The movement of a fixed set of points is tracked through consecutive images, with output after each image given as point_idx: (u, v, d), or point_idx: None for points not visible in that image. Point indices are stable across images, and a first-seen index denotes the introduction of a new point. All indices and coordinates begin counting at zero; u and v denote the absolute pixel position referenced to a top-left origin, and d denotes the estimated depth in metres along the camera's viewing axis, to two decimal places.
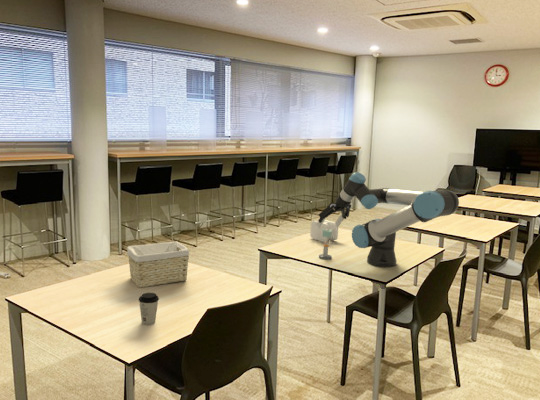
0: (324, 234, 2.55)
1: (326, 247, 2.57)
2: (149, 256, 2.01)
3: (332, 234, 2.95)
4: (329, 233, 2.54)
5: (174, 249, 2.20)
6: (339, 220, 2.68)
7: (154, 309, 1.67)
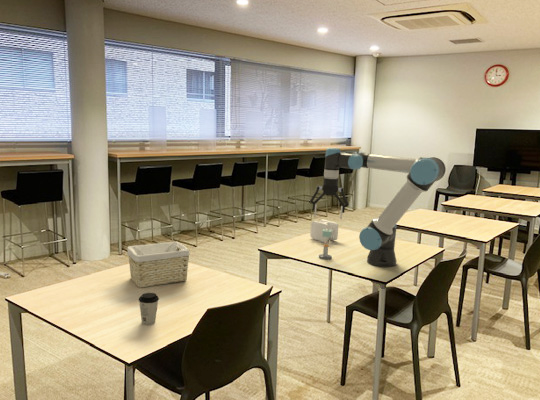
0: (324, 234, 2.55)
1: (326, 247, 2.57)
2: (149, 256, 2.00)
3: (332, 234, 2.95)
4: (329, 233, 2.54)
5: (174, 249, 2.20)
6: None
7: (154, 309, 1.67)
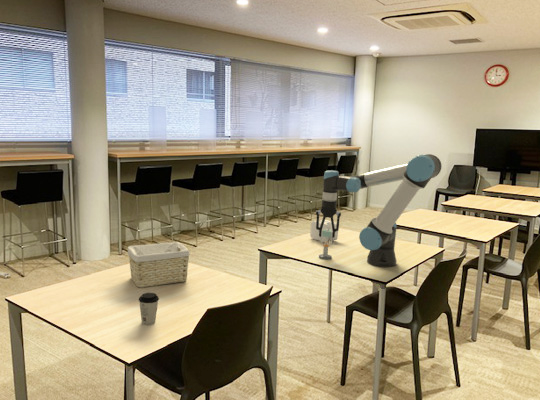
0: (324, 234, 2.55)
1: (326, 247, 2.57)
2: (149, 256, 2.00)
3: None
4: (329, 233, 2.54)
5: (175, 249, 2.19)
6: None
7: (154, 309, 1.67)
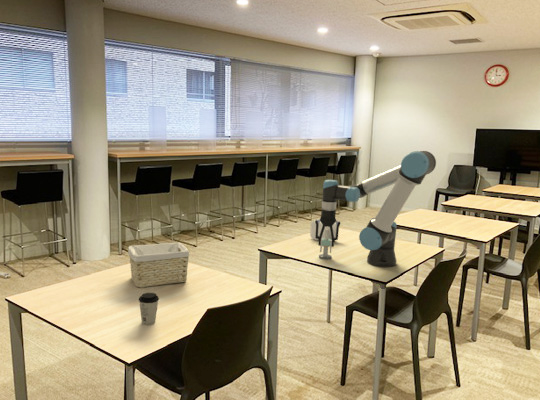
0: (323, 243, 2.55)
1: (326, 247, 2.57)
2: (148, 256, 2.00)
3: None
4: (328, 242, 2.55)
5: (176, 250, 2.19)
6: (330, 245, 2.57)
7: (154, 309, 1.67)
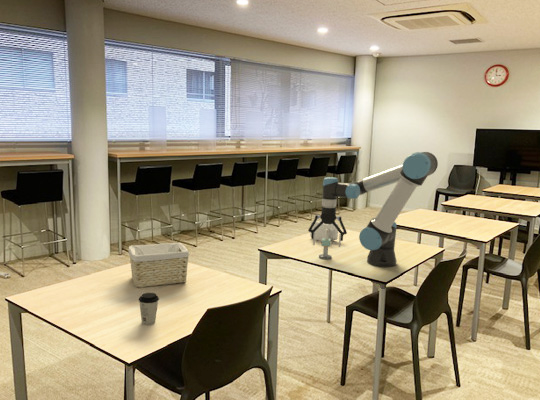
0: (323, 243, 2.55)
1: (326, 247, 2.57)
2: (147, 256, 2.00)
3: (332, 234, 2.95)
4: (328, 242, 2.55)
5: (176, 250, 2.18)
6: (339, 239, 2.56)
7: (154, 309, 1.67)
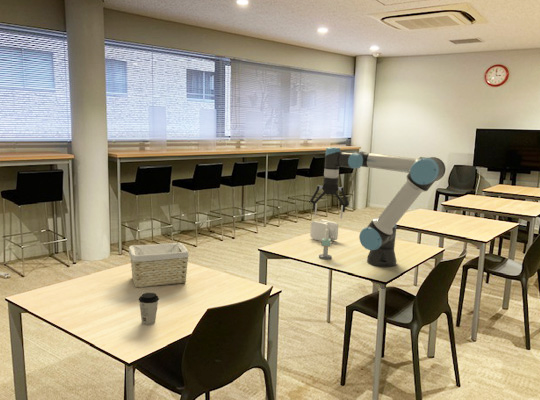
0: (323, 243, 2.55)
1: (326, 247, 2.57)
2: (146, 256, 2.00)
3: (332, 234, 2.95)
4: (328, 242, 2.55)
5: (177, 250, 2.18)
6: (341, 210, 2.53)
7: (154, 309, 1.67)
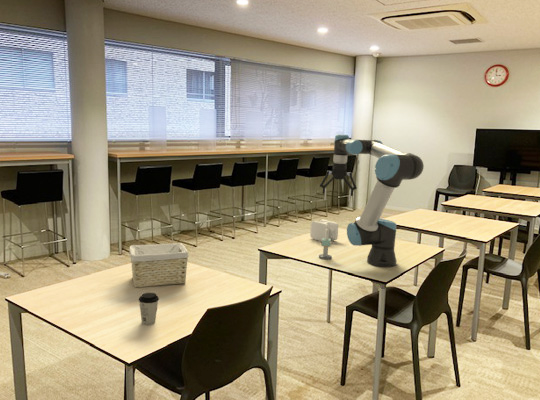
0: (323, 243, 2.55)
1: (326, 247, 2.57)
2: (145, 256, 2.00)
3: (332, 234, 2.95)
4: (328, 242, 2.55)
5: (177, 251, 2.17)
6: (349, 194, 2.68)
7: (154, 309, 1.67)
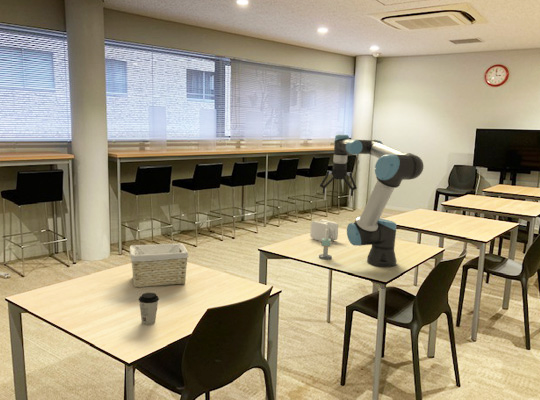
0: (323, 243, 2.55)
1: (326, 247, 2.57)
2: (145, 256, 2.00)
3: (332, 234, 2.95)
4: (328, 242, 2.55)
5: (178, 251, 2.17)
6: (349, 194, 2.68)
7: (154, 309, 1.67)
